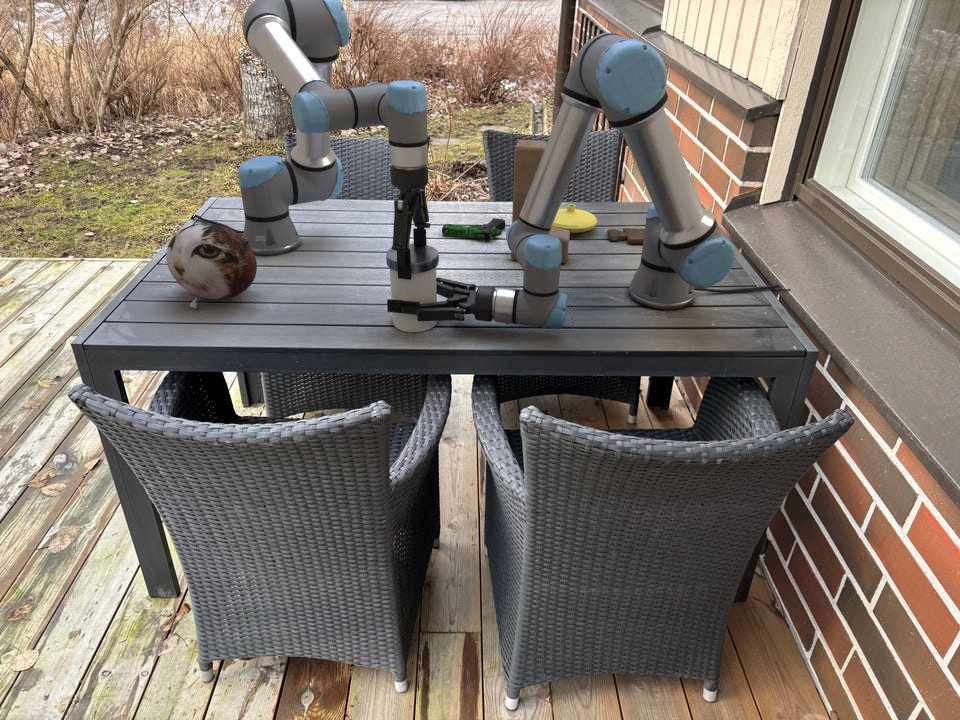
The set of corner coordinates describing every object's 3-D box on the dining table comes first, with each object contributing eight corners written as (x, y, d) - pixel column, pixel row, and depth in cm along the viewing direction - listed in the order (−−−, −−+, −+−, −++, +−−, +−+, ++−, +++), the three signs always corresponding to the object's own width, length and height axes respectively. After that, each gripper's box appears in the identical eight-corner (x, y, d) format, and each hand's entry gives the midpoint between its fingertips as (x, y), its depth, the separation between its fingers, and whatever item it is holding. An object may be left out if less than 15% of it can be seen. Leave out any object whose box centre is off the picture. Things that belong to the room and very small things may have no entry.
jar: (394, 333, 155) (390, 265, 146) (391, 313, 163) (387, 247, 155) (439, 330, 156) (438, 262, 148) (434, 310, 164) (432, 245, 156)
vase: (559, 216, 220) (561, 193, 217) (605, 227, 212) (608, 204, 209) (532, 230, 209) (533, 207, 206) (580, 242, 201) (582, 218, 198)
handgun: (511, 219, 210) (493, 234, 198) (511, 228, 211) (492, 244, 199) (461, 212, 215) (440, 226, 203) (461, 221, 217) (440, 236, 204)
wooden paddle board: (702, 246, 201) (693, 234, 209) (703, 241, 200) (694, 228, 208) (610, 243, 201) (606, 231, 210) (611, 237, 200) (606, 225, 209)
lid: (388, 275, 147) (387, 265, 146) (384, 254, 156) (384, 245, 155) (442, 271, 148) (441, 261, 147) (435, 251, 158) (435, 242, 157)
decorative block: (567, 264, 188) (576, 149, 173) (510, 260, 190) (514, 146, 174) (568, 253, 194) (577, 141, 179) (513, 250, 196) (517, 138, 181)
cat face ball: (130, 285, 161) (164, 203, 163) (192, 308, 177) (221, 233, 178) (195, 307, 151) (229, 220, 152) (254, 330, 166) (285, 250, 168)
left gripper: (408, 149, 152) (411, 246, 163) (371, 180, 132) (378, 288, 144) (442, 151, 151) (443, 249, 162) (410, 183, 131) (414, 292, 142)
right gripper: (484, 345, 146) (380, 334, 149) (502, 298, 165) (409, 289, 168) (485, 312, 142) (378, 301, 146) (503, 268, 161) (408, 259, 165)
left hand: (412, 267), depth 153 cm, fingers closed on lid, 11 cm apart
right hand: (395, 295), depth 157 cm, fingers closed on jar, 10 cm apart
